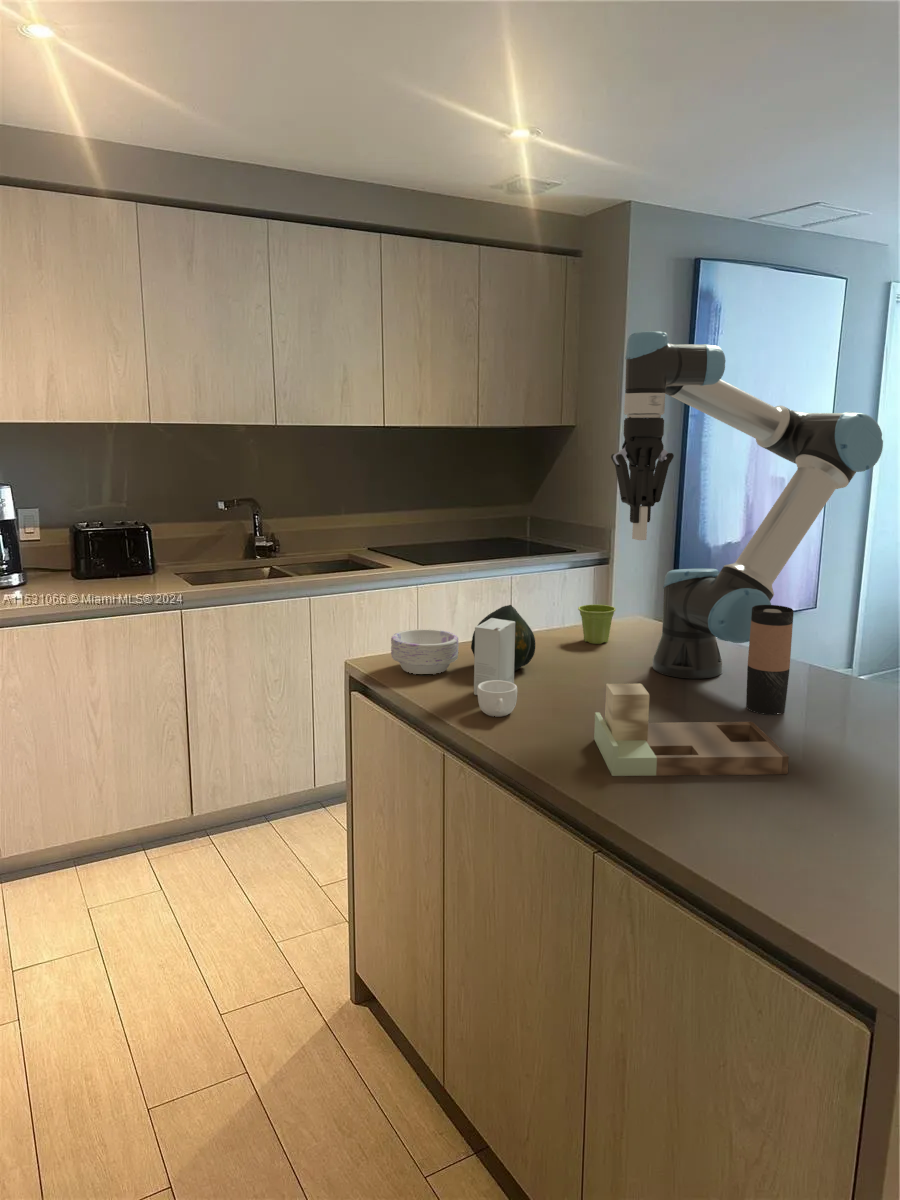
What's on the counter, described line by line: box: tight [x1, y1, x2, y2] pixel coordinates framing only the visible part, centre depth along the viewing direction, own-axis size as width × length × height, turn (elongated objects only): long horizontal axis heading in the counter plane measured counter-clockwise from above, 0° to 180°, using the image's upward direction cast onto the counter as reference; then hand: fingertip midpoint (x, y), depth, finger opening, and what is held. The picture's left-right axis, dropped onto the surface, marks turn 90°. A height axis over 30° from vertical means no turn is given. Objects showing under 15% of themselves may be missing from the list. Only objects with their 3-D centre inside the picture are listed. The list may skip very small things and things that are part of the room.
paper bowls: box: [390, 628, 459, 675], centre depth 194 cm, size 15×15×8 cm
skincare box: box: [473, 618, 515, 696], centre depth 177 cm, size 8×6×15 cm
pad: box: [593, 711, 657, 777], centre depth 144 cm, size 7×16×5 cm, turn 1°
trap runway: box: [646, 721, 790, 776], centre depth 144 cm, size 21×16×3 cm
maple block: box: [604, 683, 650, 741], centre depth 145 cm, size 6×6×8 cm
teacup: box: [477, 680, 518, 718], centre depth 164 cm, size 10×8×5 cm
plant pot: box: [577, 604, 616, 645], centre depth 218 cm, size 9×9×9 cm
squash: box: [470, 604, 536, 672], centre depth 195 cm, size 14×15×15 cm
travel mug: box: [745, 604, 794, 715], centre depth 166 cm, size 8×8×20 cm
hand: (639, 539), depth 169 cm, fingers closed
